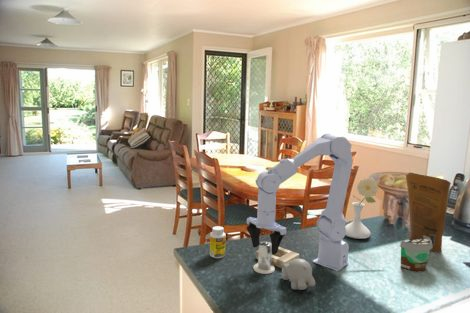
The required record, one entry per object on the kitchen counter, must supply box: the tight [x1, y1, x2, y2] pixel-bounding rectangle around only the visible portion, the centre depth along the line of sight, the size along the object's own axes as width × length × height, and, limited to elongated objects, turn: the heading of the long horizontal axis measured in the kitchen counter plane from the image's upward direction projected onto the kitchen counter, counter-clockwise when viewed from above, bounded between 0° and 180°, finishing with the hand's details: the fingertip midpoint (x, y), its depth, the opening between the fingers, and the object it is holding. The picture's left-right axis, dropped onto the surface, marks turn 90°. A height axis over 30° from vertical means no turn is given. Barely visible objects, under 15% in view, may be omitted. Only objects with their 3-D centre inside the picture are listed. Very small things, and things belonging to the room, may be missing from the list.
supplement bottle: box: [209, 225, 227, 259], centre depth 129 cm, size 6×6×10 cm
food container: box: [399, 235, 433, 273], centre depth 122 cm, size 12×6×10 cm, turn 117°
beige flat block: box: [255, 246, 301, 269], centre depth 128 cm, size 12×9×2 cm
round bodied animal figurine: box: [281, 258, 316, 291], centre depth 111 cm, size 7×12×8 cm, turn 30°
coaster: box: [253, 262, 276, 275], centre depth 121 cm, size 7×7×1 cm
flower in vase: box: [345, 177, 380, 240], centre depth 149 cm, size 13×11×25 cm
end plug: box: [257, 241, 272, 270], centre depth 120 cm, size 4×4×8 cm
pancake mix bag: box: [405, 171, 452, 253], centre depth 142 cm, size 7×19×28 cm, turn 16°
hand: (265, 249), depth 120 cm, fingers open, 7 cm apart
